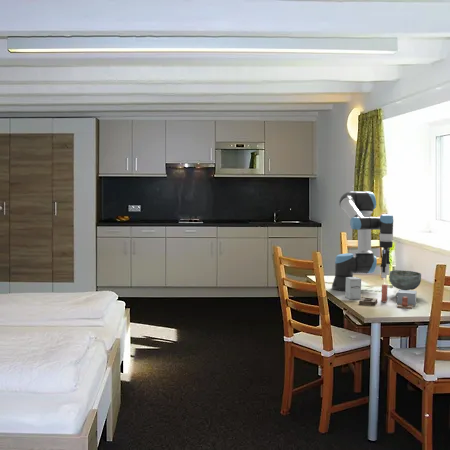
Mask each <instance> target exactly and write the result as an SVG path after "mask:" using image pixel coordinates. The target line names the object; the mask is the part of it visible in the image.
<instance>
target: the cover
mask: <svg viewBox="0 0 450 450" xmlns="http://www.w3.org/2000/svg"><path fill="white" fill-rule="evenodd" d="M396 297H397V299H396V304H397V305H398V304H399V303H400V304H402V297H408V304H413V307H414V306H416V304H417V290H401V289H398V291H397V296H396Z"/></svg>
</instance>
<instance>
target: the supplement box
mask: <svg viewBox="0 0 450 450" xmlns="http://www.w3.org/2000/svg"><path fill="white" fill-rule="evenodd" d="M344 292H345V294H344V295H345V296H344V297H345V298H346V299H348V300H360V299H361V298H362V296H361V295H362V278H360V277H358V276H356V277H355V276H353V277H346V289H345V291H344Z"/></svg>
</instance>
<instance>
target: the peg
mask: <svg viewBox="0 0 450 450" xmlns="http://www.w3.org/2000/svg"><path fill="white" fill-rule="evenodd" d="M381 302H382V303H387V302H388V284H381Z"/></svg>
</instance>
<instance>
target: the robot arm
mask: <svg viewBox="0 0 450 450" xmlns="http://www.w3.org/2000/svg"><path fill="white" fill-rule="evenodd" d="M376 199H377V198H376V195H375V193H373V192H372V191H365V190H364V191H347V192H345V193H343V194H342V195H341V196H340V198H339V200H338V201H339V202H338V205H339V207H340V209H341V210H342V211H344V213H345V214H346V215H347V216H348V218H349V219H350V220H349V223H350V224H349V225H350V229H352V230H356V231H357V251H356V252H355V255H354V253H350V252H349V253H340V254H337V255H336V256H335V260H334V264H335V265H334V278H333V282H332V284H331V289H332V290H334V291H341V292H343V291H344V292H345V289H346V277H354V274H373V273H374V272H375V271H376V268H377V263H378V261H377V256H376V255H374V252H373V251H372V230H378V231H379V235H378V237H379V244H378V245H379V248H383V249H382V250H381V265H380V266H379V267H380V268H381V271H380V272H381V274H380V275H381V276H380V278H382V279H387V276H390V264H391V262H390V249H392V248H393V240H394V216H393V214H381V215H380V216H377V217H376V216H372V213H373V212H374V210H375V209H376V207H377V200H376Z"/></svg>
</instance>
